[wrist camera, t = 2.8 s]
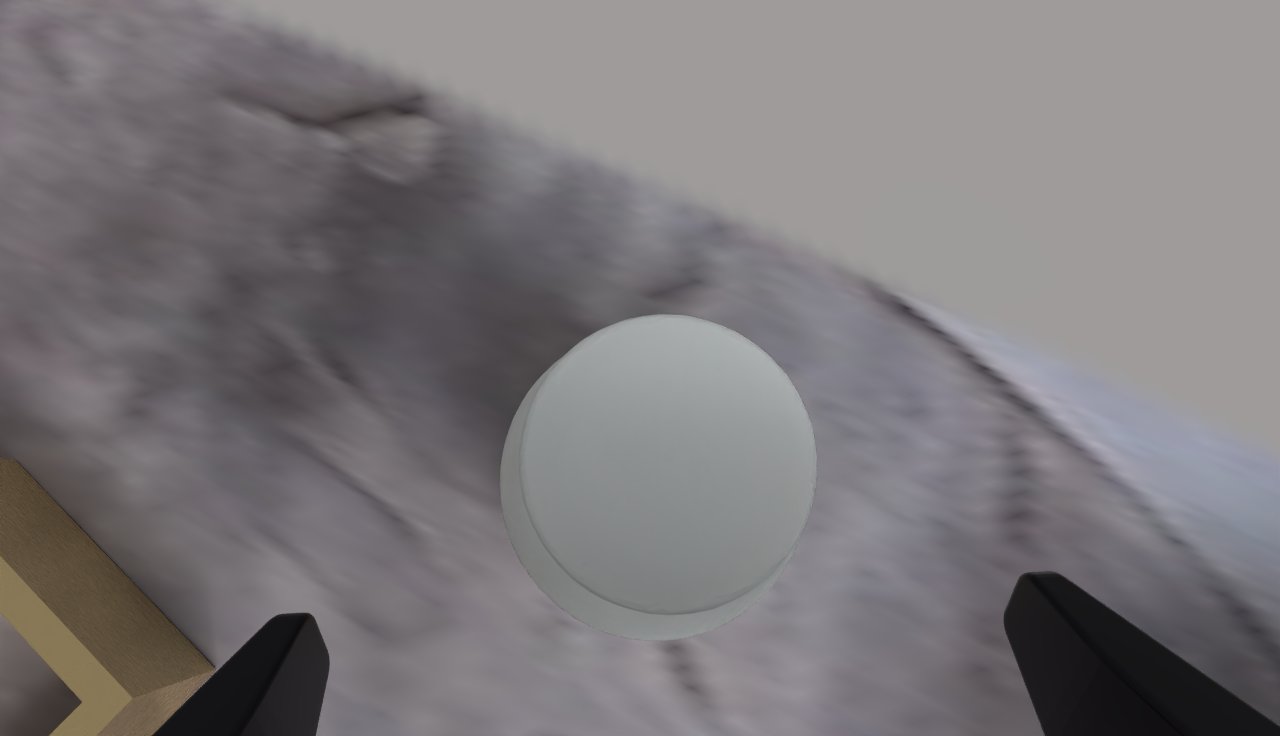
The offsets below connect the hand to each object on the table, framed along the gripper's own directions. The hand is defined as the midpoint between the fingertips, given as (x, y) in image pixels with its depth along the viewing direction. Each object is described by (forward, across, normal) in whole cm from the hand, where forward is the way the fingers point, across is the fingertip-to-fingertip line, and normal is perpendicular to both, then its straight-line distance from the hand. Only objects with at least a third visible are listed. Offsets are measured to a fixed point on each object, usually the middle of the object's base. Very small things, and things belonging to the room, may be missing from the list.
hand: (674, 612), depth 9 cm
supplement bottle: (+8, 0, +6) cm, 10 cm away
